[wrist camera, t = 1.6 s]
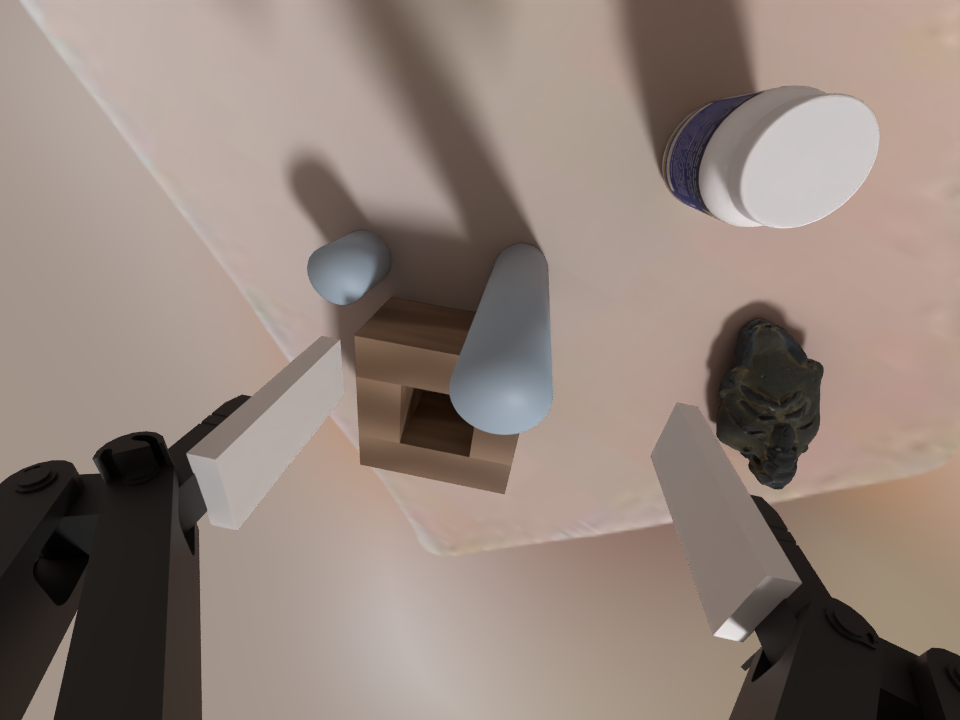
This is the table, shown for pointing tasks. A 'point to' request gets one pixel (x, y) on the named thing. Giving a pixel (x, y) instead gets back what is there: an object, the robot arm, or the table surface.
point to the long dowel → (508, 348)
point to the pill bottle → (772, 156)
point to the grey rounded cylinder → (349, 267)
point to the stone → (770, 402)
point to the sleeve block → (422, 399)
